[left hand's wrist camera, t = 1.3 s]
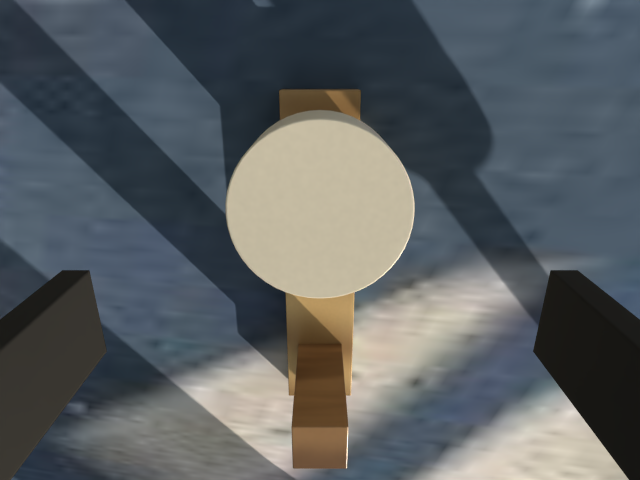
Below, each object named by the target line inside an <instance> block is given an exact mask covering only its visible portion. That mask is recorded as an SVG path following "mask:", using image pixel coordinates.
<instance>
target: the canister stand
mask: <svg viewBox="0 0 640 480" xmlns="http://www.w3.org/2000/svg"><path fill="white" fill-rule="evenodd" d="M360 103H361V90H359V89H281V90H279V104H280V120H282V119H284V118H286V117H288V116H291V115H294V114H296V113H300V112H305V111H312V110H328V111H335V112H340V113H344V114H346V115H349V116H352V117H354V118H356V119H358V120H360ZM353 317H354V292H353V293H350V294H347V295H343V296H338V297H332V298H307V297H302V296H297V295H293V294H290V293H287V292H286V318H287V349H288V379H289V395H294V404H293V416H292V454H293V468H347V452H348V417H347V404H346V395H351V378H352V347H353Z"/></svg>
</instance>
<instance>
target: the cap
mask: <svg viewBox="0 0 640 480" xmlns="http://www.w3.org/2000/svg"><path fill="white" fill-rule="evenodd" d="M226 220H227V227H228V230H229V233H230V237H231V239H232V242H233V244H234V246H235V248H236V250H237V252H238V253H239V255H240V257H241V258H242V260H243V261H244V262H245V263H246V265H247V266H248V267H249V268H250V269H251V270H252V271H253V272H254V273H255V274H256V275H257V276H259V277H260V278H261V279H262V280H264V281H265V282H267V283H268V284H270V285H272V286H273V287H275V288H277V289H280V290H282V291H284V292H287V293H290V294H293V295H297V296H302V297H307V298H332V297H338V296H343V295H347V294H350V293H353V292H356V291H358V290H360V289H363V288H365V287H366V286H368V285H370V284H372V283H373V282H375V281H376V280H377V279H379V278H380V277H381V276H383V275H384V274H385V273H386V272H387V271H388V270H389V269H390V268H391V267H392V266H393V264H394V263H395V262H396V261H397V259H398V258H399V257H400V255H401V253H402V252H403V250H404V248H405V246H406V244H407V242H408V239H409V237H410V233H411V230H412V226H413V220H414V197H413V190H412V186H411V183H410V179H409V177H408V175H407V172H406V170H405V168H404V166H403V165H402V163H401V161H400V160H399V158H398V157H397V156H396V154H395V153H394V152H393V151H392V149H391V148H390V147H389V146H388V145H387V144H386V142H385V141H384V140H383V139H382V138H381V137H380V135H378V134H377V133H376V132H375V131H374V130H373V129H372V128H371V127H369V126H368V125H366V124H365V123H364V122H362V121H360V120H358V119H356V118H354V117H352V116H349V115H346V114H344V113H340V112H335V111H328V110H312V111H305V112H300V113H296V114H294V115H291V116H288V117H286V118H284V119H282V120H280V121H278V122H276V123H275V124H274V125H272V126H271V127H269V128H268V129H267V130H266V131H265V132H264V133H263V134H262V135H260V137H259V138H258V139H257V140H256V141H255V142H254V143H253V145H252V146H251V147H250V148H249V149H248V151H247V152H246V153H245V154H244V155H243V157H242V158H241V160H240V161H239V163H238V165H237V166H236V168H235V170H234V172H233V175H232V177H231V179H230V183H229V186H228V190H227V196H226Z"/></svg>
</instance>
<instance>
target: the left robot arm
mask: <svg viewBox="0 0 640 480" xmlns="http://www.w3.org/2000/svg"><path fill="white" fill-rule="evenodd" d="M106 352H107V350H106V345H105V341H104V336H103V332H102V327H101V322H100V318H99V313H98V308H97V304H96V299H95V295H94V290H93V285H92V281H91V276H90V271H89V270H62V271H61V272H60V273H59V274H57V275H56V276H55V277H53V278H52V279H51V280H50V281H48V282H47V283H46V284H45V285H43V286H42V287H41V288H40V289H38V290H37V291H36V292H35V293H33V294H32V295H31V296H30V297H28V298H27V299H26V300H24V301H23V302H22V303H21V304H19V305H18V306H17V307H16V308H14V309H13V310H12V311H11V312H9V313H8V314H7V315H6V316H4V317H3V318H2V319H1V320H0V480H11V479H12V478H13V476H14V475H15V474H16V472H17V471H18V469H19V468H20V467H21V465H22V464H23V463H24V461H25V460H26V459H27V457H28V456H29V455H30V453H31V452H32V451H33V449H34V448H35V447H36V445H37V444H38V443H39V441H40V440H41V439H42V437H43V436H44V435H45V433H46V432H47V431H48V429H49V428H50V427H51V425H52V424H53V423H54V421H55V420H56V419H57V417H58V416H59V415H60V413H61V412H62V411H63V409H64V408H65V407H66V405H67V404H68V403H69V401H70V400H71V399H72V397H73V396H74V395H75V393H76V392H77V391H78V389H79V388H80V387H81V385H82V384H83V383H84V381H85V380H86V378H87V377H88V376H89V374H90V373H91V372H92V370H93V369H94V368H95V366H96V365H97V364H98V362H99V361H100V360H101V358H102V357H103V356H104V354H105V353H106ZM533 352H534V353H535V354H536V356H537V357H538V358H539V360H540V361H541V362H542V364H543V365H544V366H545V368H546V369H547V370H548V372H549V373H550V374H551V376H552V377H553V378H554V380H555V381H556V383H557V384H558V385H559V387H560V388H561V389H562V391H563V392H564V393H565V395H566V396H567V397H568V399H569V400H570V401H571V403H572V404H573V405H574V407H575V408H576V409H577V411H578V412H579V413H580V415H581V416H582V417H583V419H584V420H585V421H586V423H587V424H588V425H589V427H590V428H591V429H592V431H593V432H594V433H595V435H596V436H597V437H598V439H599V440H600V441H601V443H602V444H603V445H604V447H605V448H606V449H607V451H608V452H609V453H610V455H611V456H612V457H613V459H614V460H615V461H616V463H617V464H618V465H619V467H620V468H621V469H622V471H623V472H624V474H625V475H626V476H627V478H628V479H629V480H640V320H639V319H638V318H637V317H636V316H634V315H633V314H632V313H631V312H629V311H628V310H627V309H626V308H624V307H623V306H622V305H621V304H619V303H618V302H617V301H616V300H614V299H613V298H612V297H610V296H609V295H608V294H607V293H605V292H604V291H603V290H602V289H600V288H599V287H598V286H597V285H595V284H594V283H593V282H592V281H590V280H589V279H588V278H587V277H585V276H584V275H583V274H581V273H580V272H579V271H578V270H551V271H550V276H549V281H548V285H547V290H546V295H545V299H544V304H543V308H542V313H541V318H540V322H539V327H538V332H537V336H536V341H535V345H534V350H533Z"/></svg>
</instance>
